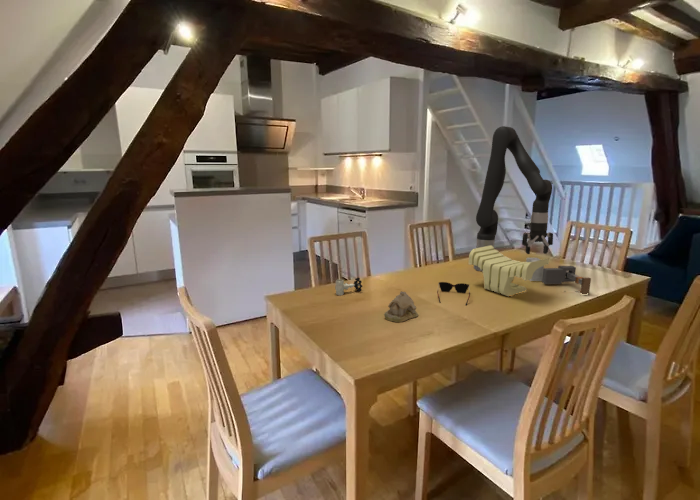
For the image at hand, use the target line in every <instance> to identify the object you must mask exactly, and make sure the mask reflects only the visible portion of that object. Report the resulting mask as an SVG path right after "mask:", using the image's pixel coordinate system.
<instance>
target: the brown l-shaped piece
mask: <svg viewBox="0 0 700 500" xmlns="http://www.w3.org/2000/svg"><path fill="white" fill-rule="evenodd" d="M560 266H561V265H558V266H557V268H560ZM566 277H567V278H569V279H571V280H573V281H574V282H575V284H579V285H580V290H579V291H580V292H579V294H580V293H582V294H587V293H589V294H590V289H591V282H592V278H591V277H588V276H587V277H584V276H580V275H577V274H576V273H575V274H573V273H571V272H569V271H566Z"/></svg>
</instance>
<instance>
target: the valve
mask: <svg viewBox="0 0 700 500" xmlns="http://www.w3.org/2000/svg"><path fill="white" fill-rule="evenodd" d="M362 281H363V280H361V278H360V277H357V278H356V277H355V278H354V282H353V283H349V284H348V283H347V282H345V283H344V279H336V280H335V287H334V288H335V295H336V296H343V295H344V293H345V292H344V291H346V290H349V288H351V289H352V288H354V289H355V290H356V292H362V291H363V290H362V288H363V284H362Z"/></svg>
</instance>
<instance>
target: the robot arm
mask: <svg viewBox="0 0 700 500" xmlns="http://www.w3.org/2000/svg"><path fill="white" fill-rule="evenodd" d="M491 140H492V141H491V151H490V156H489V160H488V161H489V162H488V166H487V170H486V174H485V180H484V184H483V190H482V195H481V200H480V203H479V206H478V210H477V213H476V215H475V222H476V224H477V225H478V226H479V227H480V229H479V231H478V233H477V234H476V244H475V248H480V247H485V246H490V245H492V246H493V247H494V248H495V239H496V236H497V233H498V225H499V214H498V212H497V211H496V210H495V209H494V206H495V203H496V200H497V199H498V197H499V195H500V193H501V191H502V189H503V187H504V183H505V180H506V174H507V171H506V169H507V168H506V167H507V166H506V161H505V160H506V153H507V150H508V151H509V152H510V153H511V155H512V156H513V158H514V161H515V164H516V166H517V168H518V169H519V171H520V173H521V174H522V175H523V176H524V178H525V179H526V181H527V184H528V185H529V188H530V189H531V191H532V192H533V193H534V194H535V200H533V202H532V208H531V209H532V210H531V216H530V225H529V233H526V232H523V234H522V239H521V245H523V246H525V250H524V251H525V253H526V255H531V246H532V244H534V243H538V242H539V243H542V244H543V254H545V255H547V253H548V252H549V247H550V246H553V244H554V233H553V232H547V231H548V225H549V207H550V200H551V198H552V197H551V196H552V193H553V184H552V182H551V181H550V180H548V179H543V177H542V176H541V169H540V168H539V167H538V165H537V163H535V162H534V160H533V159H532V158H531V156H530V154H529V153H528V152H527V150H526V149H525V147H524V145H523V143H522V141H521V139H520V137H519V135H518V133H517V131H516V130H515V129H514V128H513V127H511V126H506V125H504V126H503V125H502V126H499V127H497V128H496V129H495V130H494V132H493V136H492V139H491ZM546 237H547V239H546ZM528 238H529V239H528ZM473 269H474V270H475V271H477V272H483V269H482V270H481V269H480V268H479V267H478V266H475V265H473Z"/></svg>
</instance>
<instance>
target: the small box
mask: <svg viewBox="0 0 700 500" xmlns="http://www.w3.org/2000/svg"><path fill="white" fill-rule="evenodd" d="M525 260H526V261H525V262H535V261H539V260H541V258H538V257H526V259H525ZM544 266H545V265H544ZM544 266H542V267H540V268H538V269H537V270H535V272H534V273H533V276H532V279H530V280H529V281H530V282H531V281H542V277H543V268H545V267H544Z"/></svg>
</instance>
